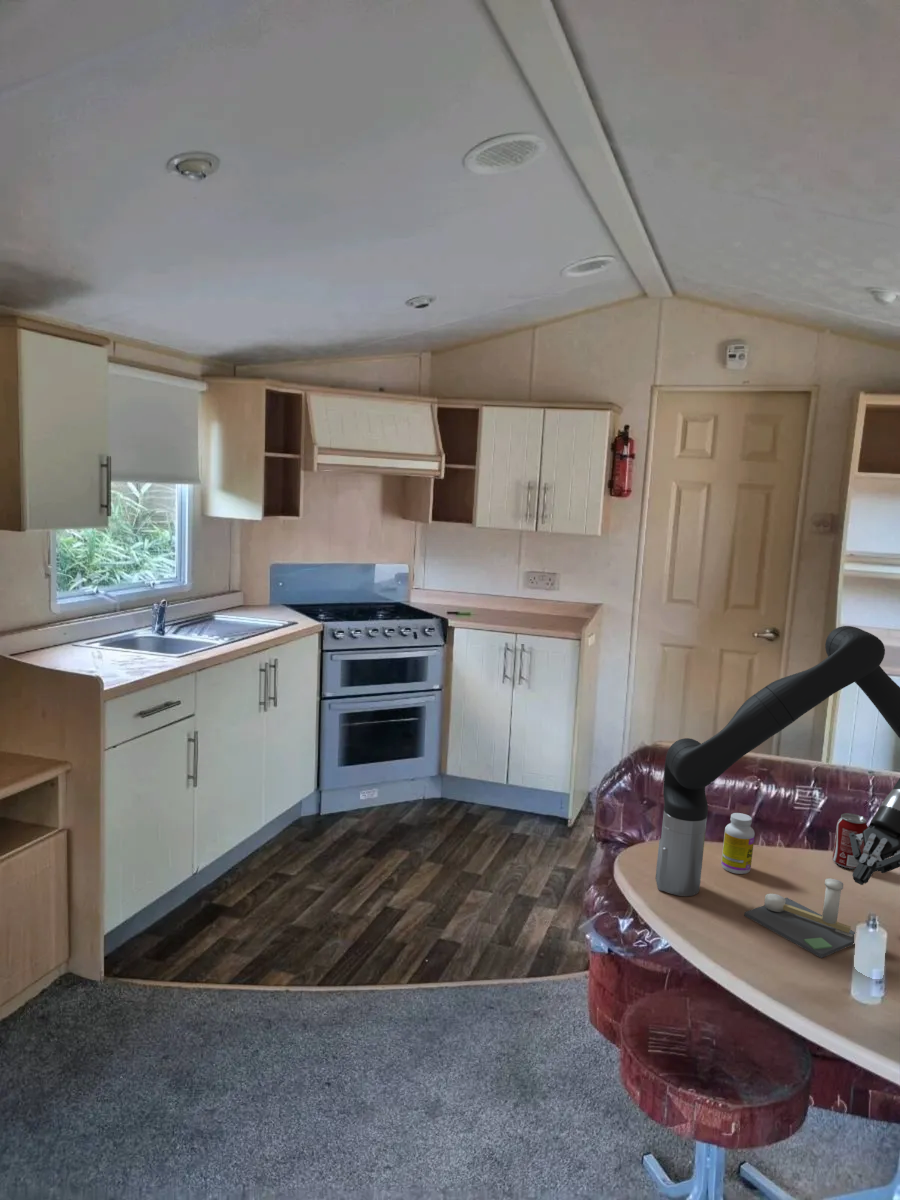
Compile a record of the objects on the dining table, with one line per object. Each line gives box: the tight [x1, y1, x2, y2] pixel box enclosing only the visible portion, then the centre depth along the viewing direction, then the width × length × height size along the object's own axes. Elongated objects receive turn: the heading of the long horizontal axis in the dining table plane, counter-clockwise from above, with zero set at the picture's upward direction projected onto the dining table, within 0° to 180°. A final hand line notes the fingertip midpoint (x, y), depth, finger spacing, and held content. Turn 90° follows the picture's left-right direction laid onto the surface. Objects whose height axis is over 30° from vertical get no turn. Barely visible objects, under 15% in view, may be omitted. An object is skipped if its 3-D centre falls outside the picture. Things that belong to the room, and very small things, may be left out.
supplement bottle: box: [720, 812, 755, 875], centre depth 203 cm, size 7×7×13 cm
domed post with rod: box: [763, 877, 852, 933], centre depth 179 cm, size 17×4×10 cm, turn 51°
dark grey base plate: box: [744, 897, 855, 959], centre depth 178 cm, size 14×18×1 cm
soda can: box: [832, 812, 869, 870], centre depth 209 cm, size 7×7×12 cm
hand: (857, 881), depth 180 cm, fingers closed
